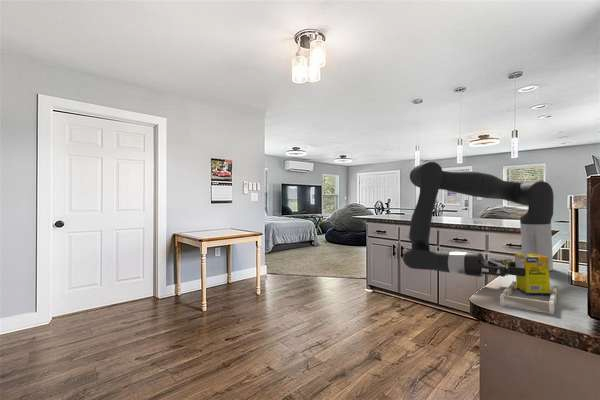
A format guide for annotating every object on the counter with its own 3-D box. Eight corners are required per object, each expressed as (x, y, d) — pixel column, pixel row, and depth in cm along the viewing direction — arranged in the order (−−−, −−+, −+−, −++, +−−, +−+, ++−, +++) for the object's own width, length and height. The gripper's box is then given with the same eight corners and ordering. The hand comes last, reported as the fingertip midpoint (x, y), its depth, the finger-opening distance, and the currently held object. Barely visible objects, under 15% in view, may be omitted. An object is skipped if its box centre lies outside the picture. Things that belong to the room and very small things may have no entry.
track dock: (513, 285, 94) (512, 277, 94) (557, 291, 87) (557, 282, 87) (500, 305, 78) (500, 295, 78) (553, 314, 71) (553, 303, 71)
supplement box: (551, 296, 83) (549, 256, 84) (526, 295, 85) (524, 257, 85) (538, 290, 89) (536, 253, 89) (516, 289, 91) (514, 253, 91)
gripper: (459, 255, 94) (523, 260, 83) (470, 249, 104) (529, 252, 93) (460, 279, 94) (524, 288, 83) (471, 270, 104) (530, 277, 93)
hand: (527, 269), depth 88 cm, fingers open, 8 cm apart
